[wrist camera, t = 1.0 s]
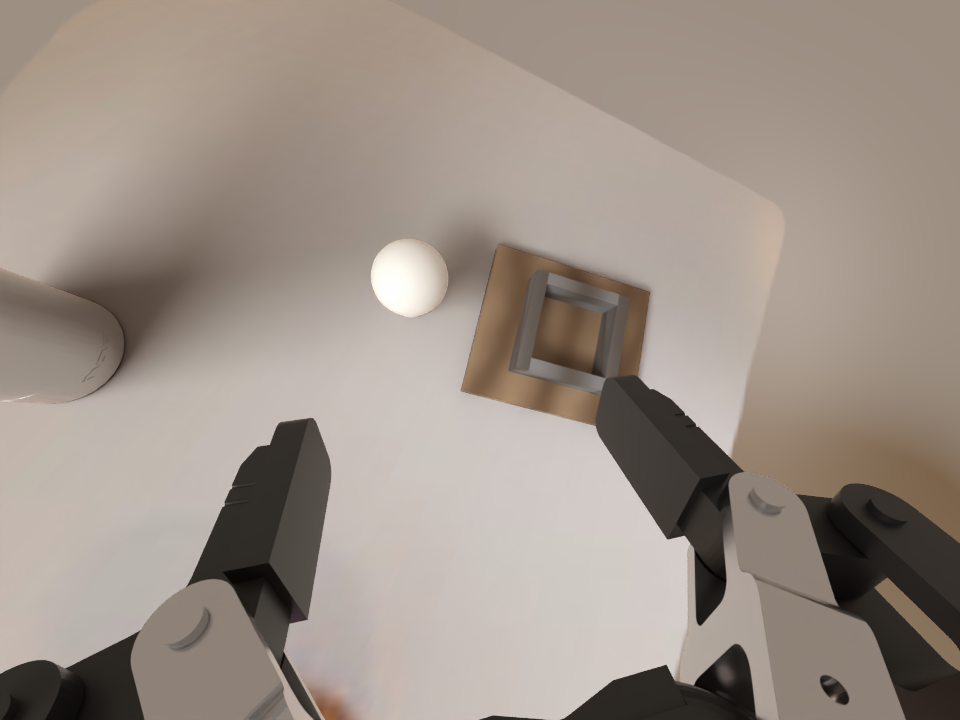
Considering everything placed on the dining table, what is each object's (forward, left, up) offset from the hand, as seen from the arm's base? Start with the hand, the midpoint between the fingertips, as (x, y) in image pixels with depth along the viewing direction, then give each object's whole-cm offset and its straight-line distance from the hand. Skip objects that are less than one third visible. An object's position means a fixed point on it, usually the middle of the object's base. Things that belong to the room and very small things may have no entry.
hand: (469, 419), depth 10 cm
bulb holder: (+11, +11, -26) cm, 30 cm away
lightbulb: (-5, +10, -26) cm, 28 cm away
